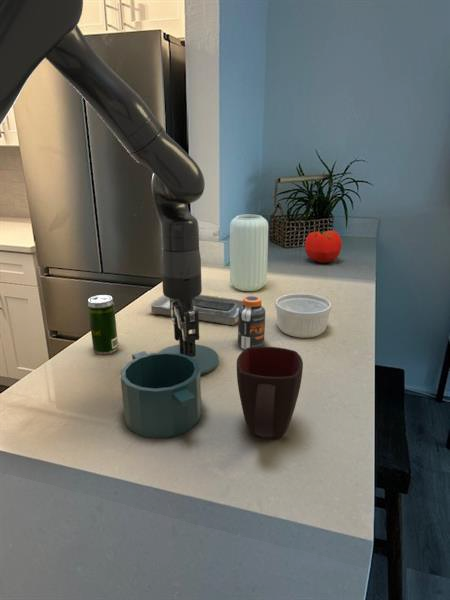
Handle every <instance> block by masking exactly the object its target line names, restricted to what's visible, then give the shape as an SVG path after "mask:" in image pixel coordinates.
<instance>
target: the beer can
mask: <svg viewBox="0 0 450 600" xmlns="http://www.w3.org/2000/svg"><path fill="white" fill-rule="evenodd" d="M87 309H88V318H89V326H90V332H91V334H90V335H91V341H92V349H93V351H94V353H95V354H96V355H101V356H106V355H111V354H113V353H116V352H117V350H118V348H119V339H118V331H117V321H116V320H117V319H116V311H115V301H114V300H113V297H112V296H111V295H108V294H99V295H94V296H91V297H89V298H88V303H87Z"/></svg>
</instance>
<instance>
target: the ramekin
mask: <svg viewBox="0 0 450 600" xmlns="http://www.w3.org/2000/svg"><path fill="white" fill-rule="evenodd" d="M274 308H275V311H276V312H275V313H276V323H277V326H278V328H279V330H280V331H281V332H282V333H284V334H285V335H288V336H290V337H294V338H300V339H302V338H303V339H309V338H314V337H315V338H316V337H318V336H320V335H322V334H323V333H324V332H325V331H326V329H327V325H328V321H329V316H330V312H332V303H331V302H330V300H329V299H327V298H325V297H323V296H320V295H317V294H311V293H301V292H299V293H288V294H284V295H281V296H278V297H277V299H275V303H274Z"/></svg>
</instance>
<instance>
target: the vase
mask: <svg viewBox="0 0 450 600" xmlns="http://www.w3.org/2000/svg"><path fill="white" fill-rule="evenodd" d="M268 250H269V222H268V220H267V219H266V218H265V217H263V216H262V215H260V214H251V213H249V214H248V213H247V214H239V215H236V216H235V217H234V218H232V220H231V221H230V223H229V281H230V284H231V285H232V286H233V287H234V288H235V289H237V290H239V291H242V292H256V291H258V290H261V288H263V287H265V285H266V284H267V282H268V281H267V280H268V257H269V255H268V253H269V252H268Z"/></svg>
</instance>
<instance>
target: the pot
mask: <svg viewBox="0 0 450 600" xmlns="http://www.w3.org/2000/svg"><path fill="white" fill-rule="evenodd" d="M158 352H159V351H158ZM158 352H150V353H147V352H146V351H140V352H137V353H133V354H132V355H131V358H132V360H130V361H128V362H127V363H125V364H124V366H123V367H122V369H121V370H120V385H121V394H122V403H123V404H122V405H123V414H124V421H125V424H126V426H127V427H128V429H129V430H130V431H131V432H133V433H135V434H137V435H138V436H141V437H143V438H144V437H145V438H150V439H163V438H164V439H165V438H171V437H176V436H179V435H181V434H183V433H186V432H188V431H189V430H191V429H192V428H193V427H195V425H197V423H198V422H199V420H200V419H201V415H202V387H201V386H202V384H201V383H202V382H201V375H200V367H199V364H198V362H197V361H196V360H194V359H193V358H192V357H190V356H187V355H184V354H181V353H175V352H159V353H158Z"/></svg>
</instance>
